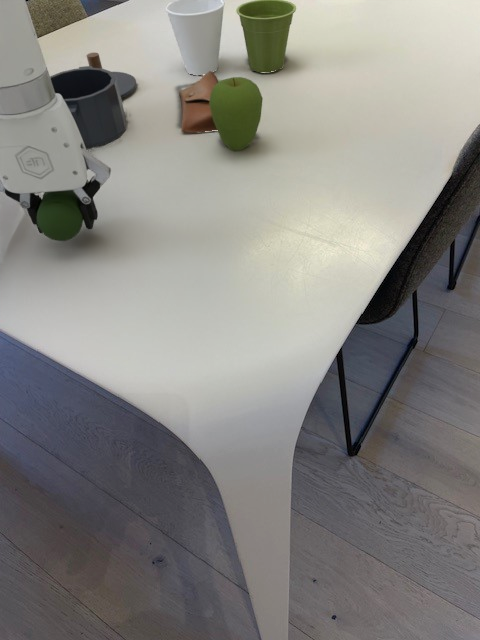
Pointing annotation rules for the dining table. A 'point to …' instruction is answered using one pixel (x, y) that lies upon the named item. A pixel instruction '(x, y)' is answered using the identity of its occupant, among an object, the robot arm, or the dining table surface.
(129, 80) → the lid
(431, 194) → the dining table surface
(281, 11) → the plant pot
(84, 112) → the pot
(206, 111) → the sunglasses case
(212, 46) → the cup
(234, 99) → the apple
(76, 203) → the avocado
